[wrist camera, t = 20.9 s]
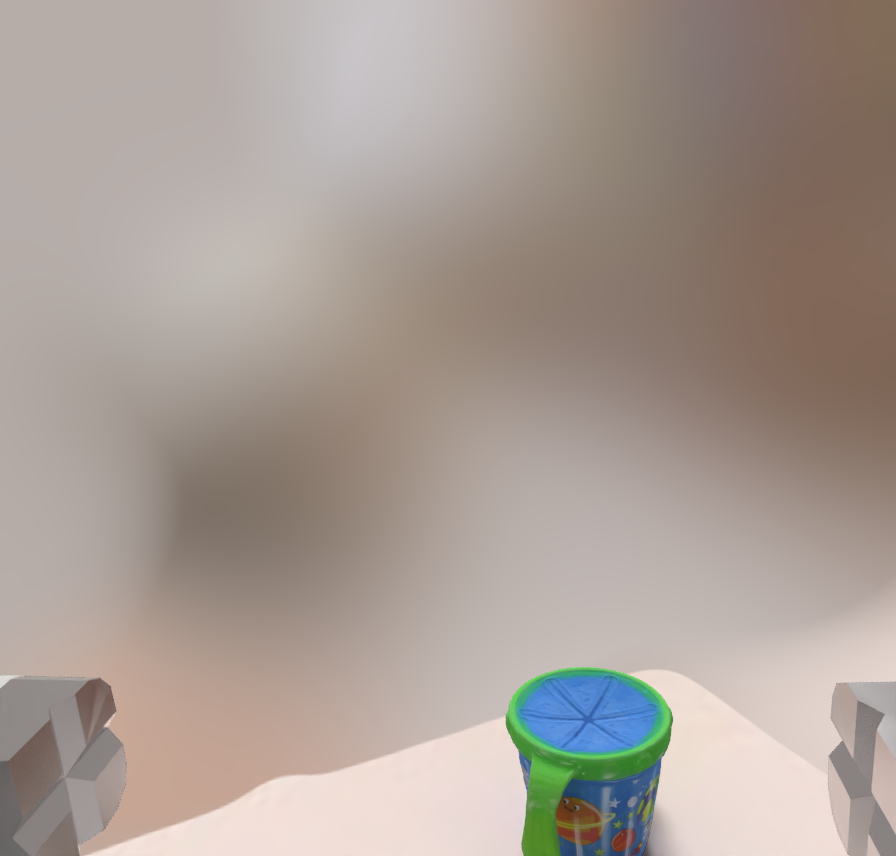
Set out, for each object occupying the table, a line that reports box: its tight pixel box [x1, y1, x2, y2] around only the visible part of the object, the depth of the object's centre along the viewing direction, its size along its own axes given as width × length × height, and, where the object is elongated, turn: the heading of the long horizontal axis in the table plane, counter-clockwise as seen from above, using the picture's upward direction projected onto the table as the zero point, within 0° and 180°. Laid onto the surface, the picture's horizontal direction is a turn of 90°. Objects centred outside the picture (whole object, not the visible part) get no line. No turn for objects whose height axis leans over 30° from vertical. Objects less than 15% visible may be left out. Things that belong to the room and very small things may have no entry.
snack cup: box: [506, 667, 673, 856], centre depth 53 cm, size 16×10×10 cm
